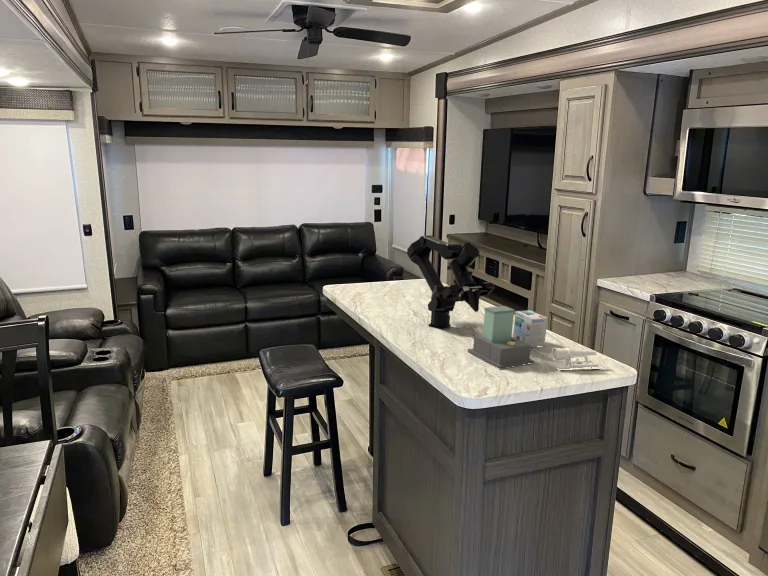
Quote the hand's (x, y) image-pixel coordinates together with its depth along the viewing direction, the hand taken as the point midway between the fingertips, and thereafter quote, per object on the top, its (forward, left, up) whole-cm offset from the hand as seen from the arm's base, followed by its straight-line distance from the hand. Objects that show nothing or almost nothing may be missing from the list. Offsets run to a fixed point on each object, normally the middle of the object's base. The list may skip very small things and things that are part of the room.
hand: (476, 311), depth 198 cm
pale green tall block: (+11, -5, -11) cm, 16 cm away
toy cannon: (+35, +3, -12) cm, 38 cm away
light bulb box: (+13, +16, -12) cm, 24 cm away
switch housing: (+13, -6, -12) cm, 19 cm away
